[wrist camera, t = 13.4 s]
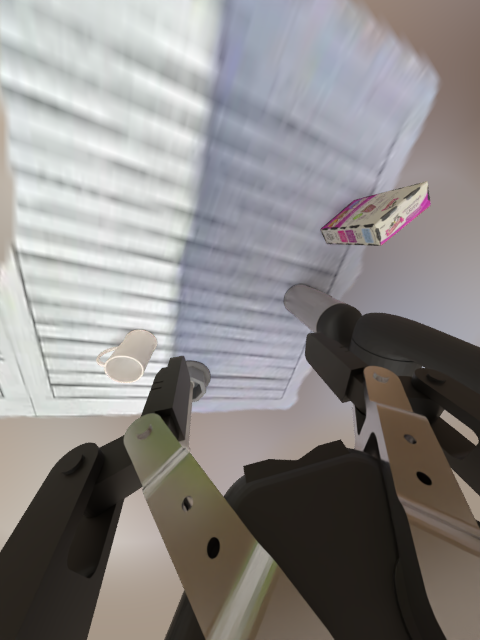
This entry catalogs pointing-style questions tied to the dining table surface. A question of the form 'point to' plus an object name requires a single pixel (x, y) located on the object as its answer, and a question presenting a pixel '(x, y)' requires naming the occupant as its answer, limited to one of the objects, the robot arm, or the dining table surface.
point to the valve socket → (198, 378)
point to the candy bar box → (377, 216)
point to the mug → (129, 357)
